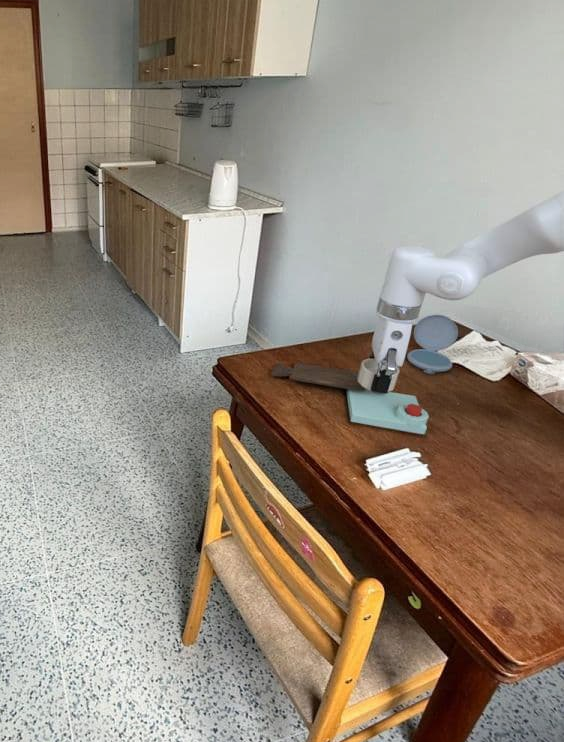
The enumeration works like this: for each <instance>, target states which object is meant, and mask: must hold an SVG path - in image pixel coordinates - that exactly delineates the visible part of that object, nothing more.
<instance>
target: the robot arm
mask: <svg viewBox="0 0 564 742" xmlns="http://www.w3.org/2000/svg"><path fill="white" fill-rule="evenodd" d="M562 252H564V190H562V191H560V192H558V193H556V194H554V195H553V196H551V197H549V198H547V199H545V200H543V201H541V202H539V203H538V204H535V205H534V206H532V207H530V208H528V209H526V210H524V211H522V212H520V213H519V214H517V215H515V216H514V217H512V218H510V219H508V220H506V221H504V222H502V223H500V224H498V225H496V226H494V227H492V228H490V229H489V230H487V231H485V232H482V233H481V234H479V235H477V236H476V237H474V238H472V239H470V240H468V241H466V242H465V243H463V244H461V245H459V246H457V247H455V248H454V249H452V250H451V251H449V252H447V254H445V255H444V256H443V257H437V255H436V253H435V251H434V250H432V249H429V248H426V247H424V246H418V245H401V246H398V247H396V248H394V249H393V251H392V252H391V255H390V258H389V261H388V265H387V268H386V272H385V275H384V279H383V283H382V286H381V290H380V294H379V297H378V302H377V304H376V308H375V314H376V315H377V316H378V319H377V321H376V324H375V328H374V332H373V336H372V340H371V347H372V350H371V353H370V355H369V358H368V359H373V358H375V360H376V362H377V363H378V369H377V374H375V375H374V378H373V382H372V385H371V391H373V392H379V393H387V392H388V389H389V386H390V383H391V380H392V377H393V372H394V371H395V365H396V366H397V367H398V368H401V367H403V366H404V362H405V359H406V356H407V355H406V354H407V351H408V347H409V343H410V338H411V334H412V328H413V323H414V322H416V321H418V318H419V315H420V312H421V310H422V306H423V304H424V299H425V296H426V294H429V295H431V296H433V297H436V298H439V299H443V300H446V301H447V300H448V301H461V300H463V299H466V298H468V297H470V296H471V295H472V294H473V293H474V292H475V291H476V290H477V289H478V287H479V285H480V283H481V282H482V280H483V279H484V278H486V277H488V276H490V275H492V274H494V273H496V272H499V271H501V270H503V269H505V268H507V267H509V266H511V265H513V264H516V263H518V262H521V261H523V260H526V259H529V258H532V257H535V256H540V255H551V254H552V255H553V254H557V253H562ZM382 360H385V361H387V363H386V362H382ZM382 365H386V368H385V369H383V370H382V371H381V369H382Z"/></svg>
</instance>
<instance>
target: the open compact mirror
mask: <svg viewBox="0 0 564 742" xmlns="http://www.w3.org/2000/svg"><path fill="white" fill-rule="evenodd" d="M458 335H459V329H458V326H457V323H456V322H455V321H454V320H452V319H451V318H450V317H448V316H446V315H442V314H430V315H427V316H425V317H423V318H420V320H419V321H418V322H417V323H416V324H415V325H414V329H413V338H414V341H415V342H416V344H417V345H419V346H420V347H421V349H420V348H418V349H413V350H411V351H410V352H408V353H407V355H406V358H407V360H408V362H409V363H410V364H411V365H412V366H414V367H416V368H418V369H420V370H423V372H424V373H426V374H429V375H430V374H431V375H435V374H436V373H442V372H443V373H444V372H448V371H449V370H451V369H452V368H453V362H452V361H451V359H450V358H449V357H448V356H446V355H445V354H443V353H442V352H441V353H440V352H439V351H443V350H447V349H448V348H450V347H452V346H453V344H455V342H456V340H457V339H458Z"/></svg>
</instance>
